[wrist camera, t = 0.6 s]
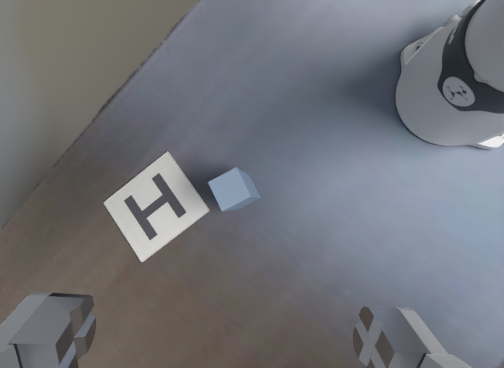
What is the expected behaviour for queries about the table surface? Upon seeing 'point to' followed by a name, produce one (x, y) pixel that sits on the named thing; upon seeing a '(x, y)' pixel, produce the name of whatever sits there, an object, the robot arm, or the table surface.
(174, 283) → the table surface
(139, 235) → the letter card
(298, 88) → the table surface
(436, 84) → the robot arm
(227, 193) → the blue block
